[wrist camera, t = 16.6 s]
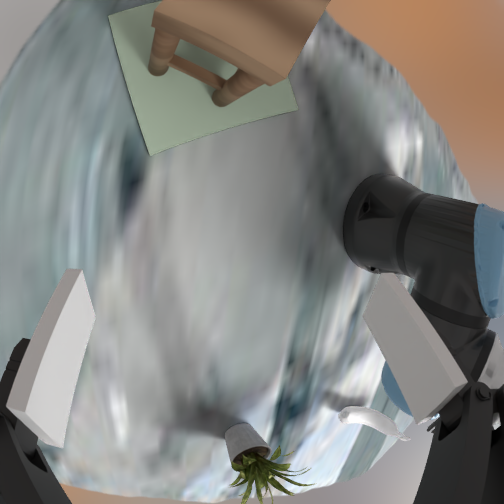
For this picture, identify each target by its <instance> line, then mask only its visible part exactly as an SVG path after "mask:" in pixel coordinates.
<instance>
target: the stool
mask: <svg viewBox="0 0 504 504" xmlns="http://www.w3.org/2000/svg"><path fill="white" fill-rule="evenodd" d="M329 2H330V0H162V2H161V3H160V4H159V5H158V6H157V8H156V9H155V10H154V14H153V19H152V24H151V27H154V28H155V32H154V37H153V42H152V47H151V53H150V59H149V64H148V71H149V73H150V74H151V75H153V76H162V75H164V74H165V73H166V72H167V71H168V68H169V66H170V67H172V68H174V69H176V70H178V71H181V72H183V73H185V74H187V75H189V76H191V77H193V78H195V79H197V80H199V81H201V82H203V83H205V84H207V85H209V86H211V87H213V88H215V89H216V90H215V91H214V92H213V94H212V101H213V103H214V104H215V105H216V106H219V107H225V106H227V105H229V104H230V103H232V102H234V101H235V100H237V99H239V98H241V97H242V96H244V95H246V94H247V93H249V92H251V91H253V90H254V89H256V88H258V87H260V86H262V85H263V84H266V85H268V86H272V85H274V84H276V83H278V82H280V81H282V80H285V79H286V78H287V76H288V74H289V72H290V70H291V69H292V67H293V65H294V63H295V61H296V59H297V58H298V56H299V54H300V52H301V50H302V49H303V47H304V45H305V43H306V41H307V40H308V38H309V36H310V34H311V33H312V31H313V29H314V27H315V26H316V24H317V22H318V20H319V19H320V17H321V15H322V14H323V12H324V10H325V9H326V7H327V5H328V3H329ZM180 39H182V40H184V41H186V42H188V43H191V44H193V45H195V46H197V47H199V48H201V49H203V50H205V51H207V52H209V53H211V54H213V55H215V56H217V57H219V58H221V59H223V60H225V61H226V62H228V63H230V64H232V65H234V66H236V67H237V68H238V69H237V71H236V73H235V74H234V75H232V76H231V77H230V78H229V79H228V80H226V79H224V78H222V77H220V76H218V75H216V74H214V73H212V72H210V71H208V70H207V69H205V68H203V67H200V66H198V65H196V64H194V63H192V62H190V61H188V60H186V59H184V58H182V57H179V56H177V55H175V54H174V53H175V51H176V48H177V46H178V43H179V41H180Z"/></svg>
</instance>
